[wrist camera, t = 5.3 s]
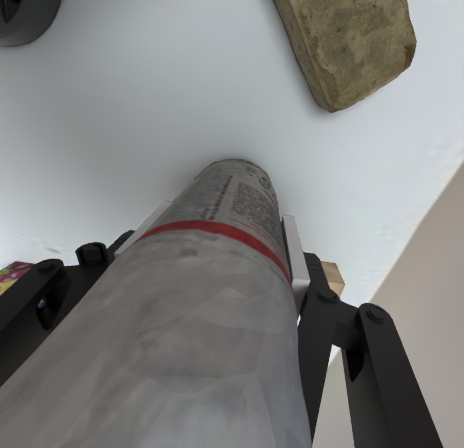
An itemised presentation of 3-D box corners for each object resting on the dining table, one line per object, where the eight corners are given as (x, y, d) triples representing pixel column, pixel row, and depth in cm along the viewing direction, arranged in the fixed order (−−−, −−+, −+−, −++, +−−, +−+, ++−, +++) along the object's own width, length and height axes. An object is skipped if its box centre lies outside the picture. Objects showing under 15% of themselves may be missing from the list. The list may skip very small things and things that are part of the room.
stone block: (319, 117, 20) (334, 119, 15) (254, -35, 16) (250, -90, 12) (390, 74, 18) (432, 62, 13) (335, -112, 14) (368, -213, 10)
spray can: (192, 146, 20) (-393, 519, 2) (286, 158, 19) (517, 785, 2) (192, 229, 24) (-10, 584, 6) (269, 240, 23) (282, 665, 6)
